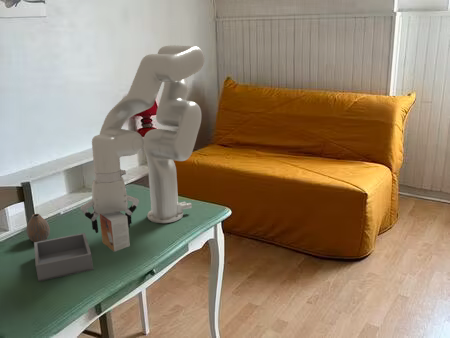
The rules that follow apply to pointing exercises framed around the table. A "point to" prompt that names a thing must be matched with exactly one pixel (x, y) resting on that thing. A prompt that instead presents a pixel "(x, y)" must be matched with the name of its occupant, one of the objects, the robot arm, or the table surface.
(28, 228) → the vase
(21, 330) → the table surface
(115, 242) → the small box
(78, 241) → the bin
